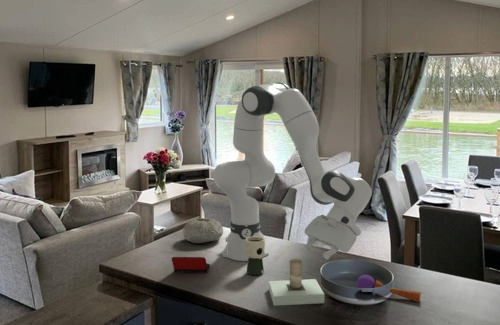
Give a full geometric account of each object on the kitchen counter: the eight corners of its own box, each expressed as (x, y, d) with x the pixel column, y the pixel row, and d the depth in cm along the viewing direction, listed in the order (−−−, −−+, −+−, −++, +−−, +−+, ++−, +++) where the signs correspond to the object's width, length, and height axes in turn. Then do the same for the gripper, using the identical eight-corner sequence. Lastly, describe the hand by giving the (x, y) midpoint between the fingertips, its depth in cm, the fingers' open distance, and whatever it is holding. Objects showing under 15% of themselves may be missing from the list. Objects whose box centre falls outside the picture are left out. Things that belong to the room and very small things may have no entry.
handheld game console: (210, 266, 182) (209, 247, 180) (205, 277, 171) (205, 257, 170) (178, 265, 182) (177, 247, 181) (171, 276, 172) (171, 256, 171)
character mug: (256, 280, 167) (255, 244, 165) (239, 276, 171) (238, 241, 169) (270, 270, 176) (270, 236, 174) (254, 266, 180) (254, 233, 178)
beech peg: (288, 293, 156) (288, 258, 154) (300, 293, 156) (300, 258, 154) (290, 299, 152) (290, 263, 150) (302, 298, 152) (303, 262, 150)
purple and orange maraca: (419, 294, 146) (355, 278, 154) (417, 310, 148) (354, 294, 156) (422, 284, 151) (359, 269, 159) (420, 300, 153) (358, 284, 161)
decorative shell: (208, 232, 224) (208, 212, 222) (231, 241, 210) (231, 219, 209) (175, 240, 212) (175, 218, 211) (198, 250, 199) (197, 227, 197)
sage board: (268, 289, 159) (268, 281, 159) (315, 287, 161) (315, 279, 160) (273, 305, 147) (273, 296, 147) (324, 303, 149) (324, 294, 148)
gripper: (314, 208, 167) (291, 239, 163) (354, 222, 149) (330, 257, 146) (324, 218, 170) (302, 249, 166) (365, 233, 152) (340, 268, 149)
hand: (315, 253), depth 156 cm, fingers open, 8 cm apart
